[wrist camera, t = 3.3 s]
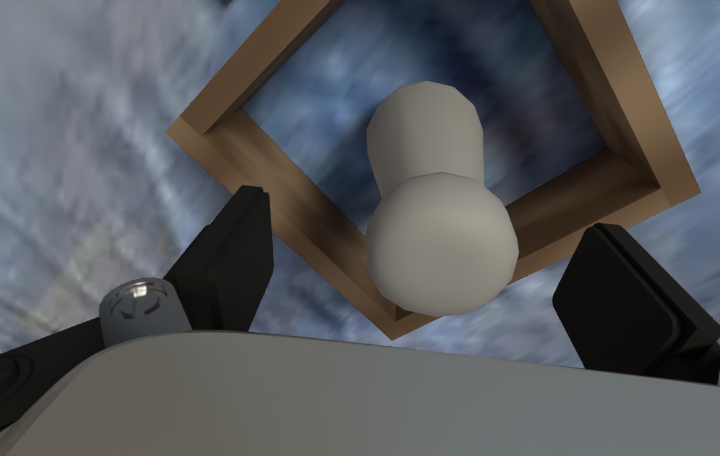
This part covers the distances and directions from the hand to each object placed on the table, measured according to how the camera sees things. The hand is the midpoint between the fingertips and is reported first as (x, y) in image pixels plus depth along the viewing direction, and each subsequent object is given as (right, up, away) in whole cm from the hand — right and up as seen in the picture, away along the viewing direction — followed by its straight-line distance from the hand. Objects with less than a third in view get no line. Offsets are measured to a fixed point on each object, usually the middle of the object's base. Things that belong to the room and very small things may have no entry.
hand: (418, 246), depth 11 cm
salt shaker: (+2, +6, +10) cm, 12 cm away
